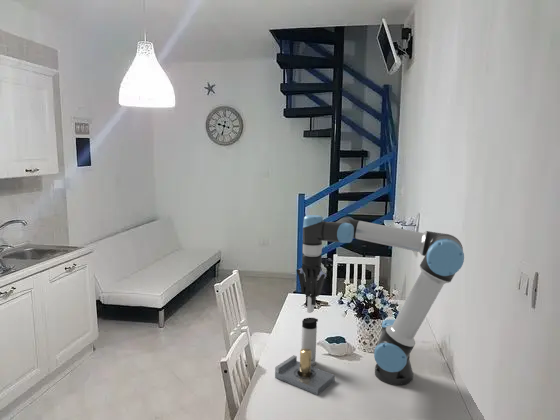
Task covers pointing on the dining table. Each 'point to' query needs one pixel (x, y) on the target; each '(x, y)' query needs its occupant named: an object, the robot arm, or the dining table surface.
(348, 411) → the dining table surface
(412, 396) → the dining table surface
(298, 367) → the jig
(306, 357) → the gold metal cylinder
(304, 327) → the travel mug
